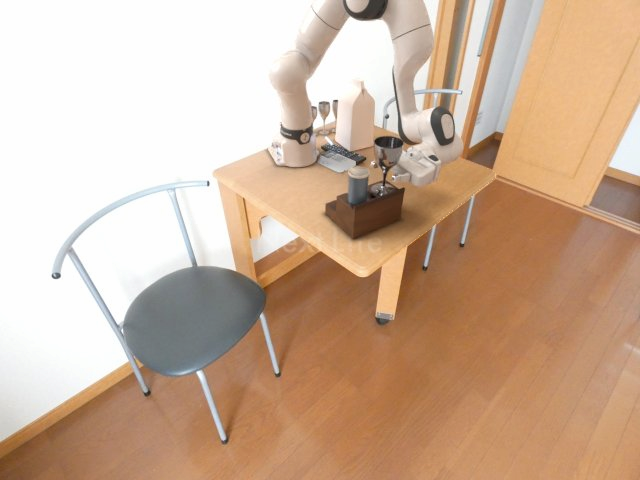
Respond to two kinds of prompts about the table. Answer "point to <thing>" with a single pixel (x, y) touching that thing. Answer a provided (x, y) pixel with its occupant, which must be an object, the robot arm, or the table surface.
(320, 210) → the table surface
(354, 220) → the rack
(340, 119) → the milk
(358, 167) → the tumbler
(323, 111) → the goblet set
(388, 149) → the wine glass
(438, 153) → the robot arm
